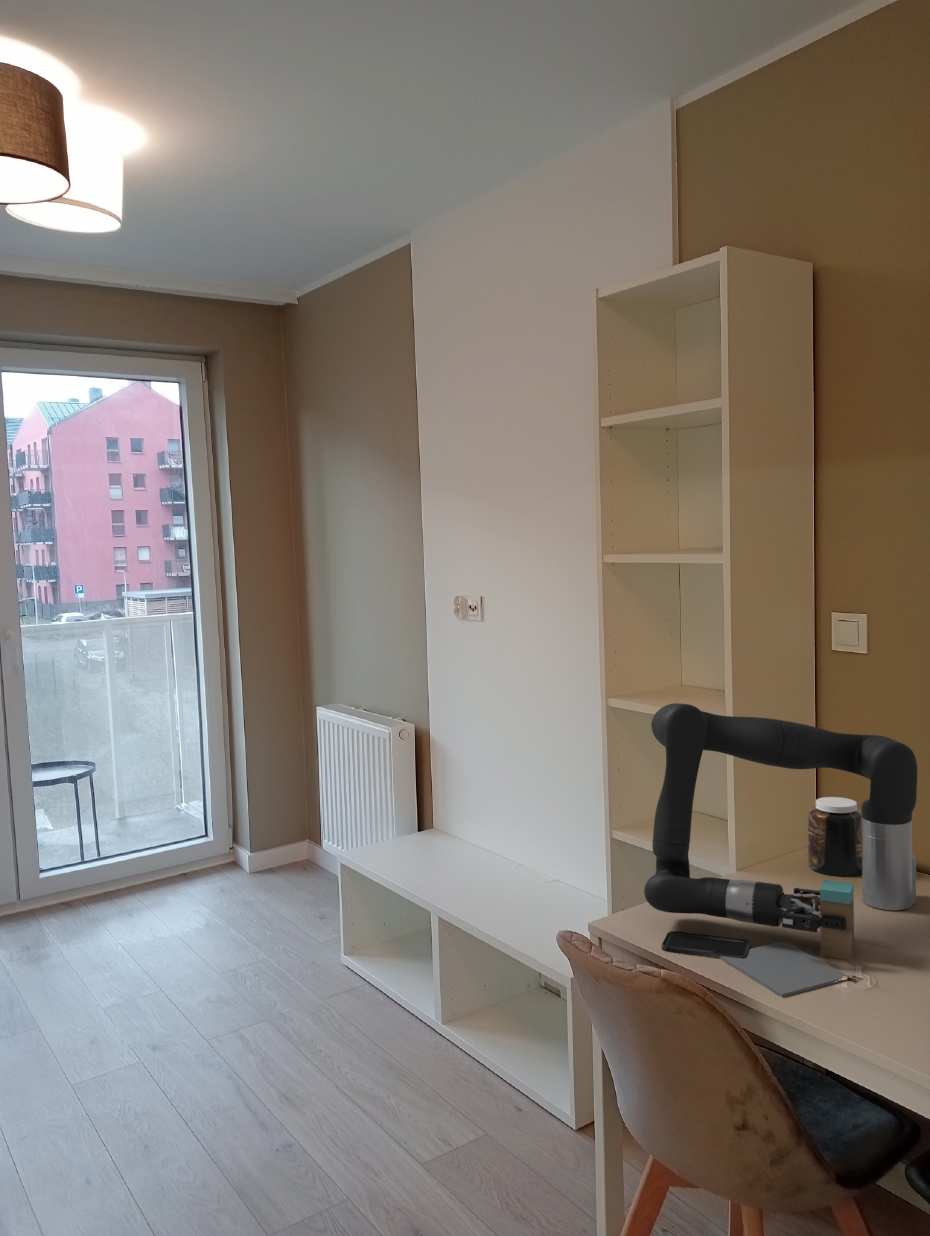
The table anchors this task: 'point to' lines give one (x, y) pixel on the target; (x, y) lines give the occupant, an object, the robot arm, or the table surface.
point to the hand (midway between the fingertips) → (849, 915)
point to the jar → (835, 837)
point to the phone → (705, 945)
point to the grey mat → (784, 969)
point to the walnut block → (841, 903)
